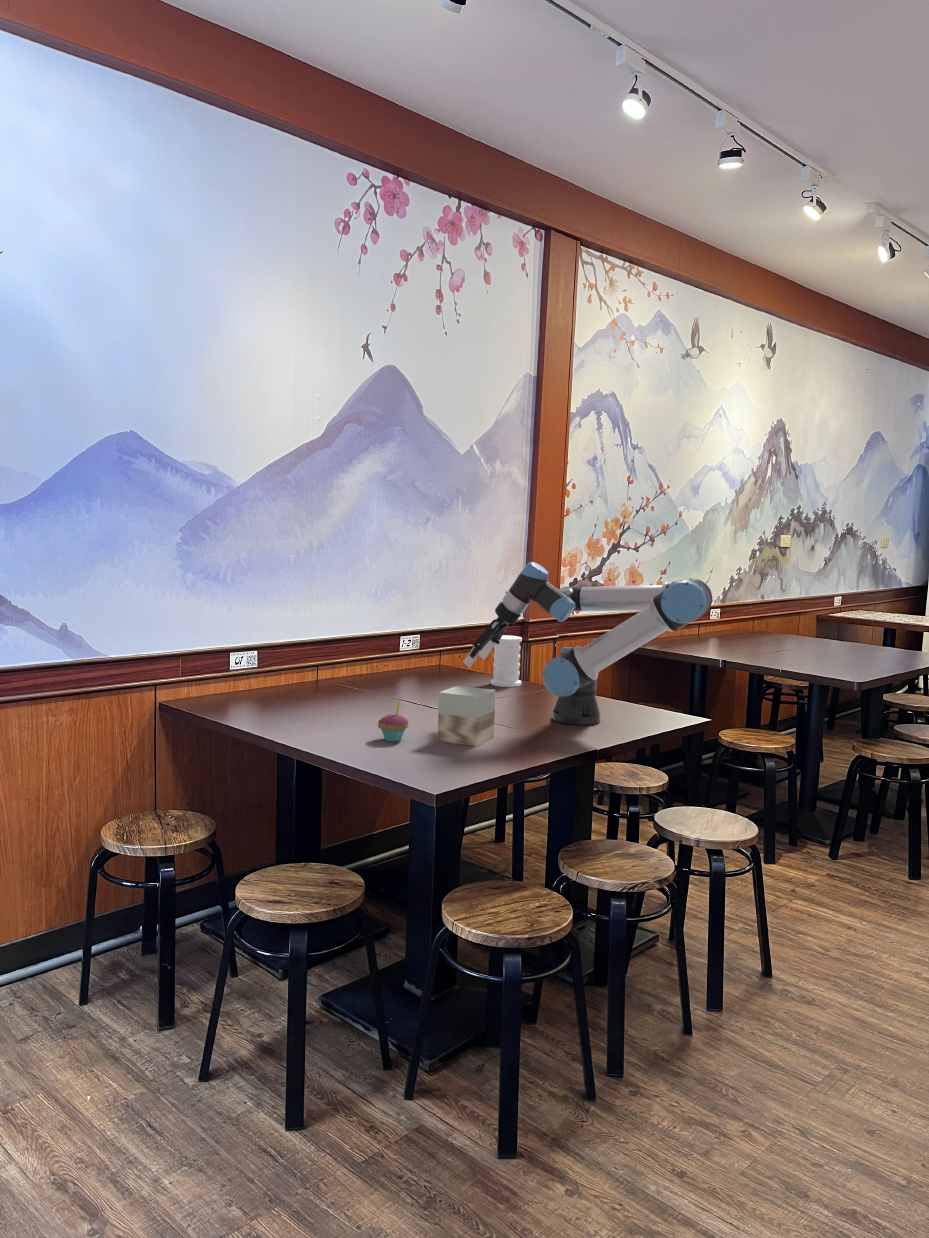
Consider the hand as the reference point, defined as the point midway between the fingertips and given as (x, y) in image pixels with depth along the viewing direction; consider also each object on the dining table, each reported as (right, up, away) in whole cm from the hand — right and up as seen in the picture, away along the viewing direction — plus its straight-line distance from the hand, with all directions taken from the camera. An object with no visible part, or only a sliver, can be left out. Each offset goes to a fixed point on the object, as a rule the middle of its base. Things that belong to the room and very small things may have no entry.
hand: (473, 660), depth 288 cm
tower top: (-2, -13, -27) cm, 30 cm away
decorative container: (+13, -12, +61) cm, 64 cm away
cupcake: (-23, -21, -30) cm, 43 cm away
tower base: (-3, -21, -26) cm, 34 cm away
